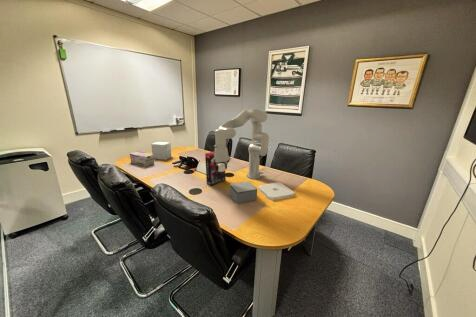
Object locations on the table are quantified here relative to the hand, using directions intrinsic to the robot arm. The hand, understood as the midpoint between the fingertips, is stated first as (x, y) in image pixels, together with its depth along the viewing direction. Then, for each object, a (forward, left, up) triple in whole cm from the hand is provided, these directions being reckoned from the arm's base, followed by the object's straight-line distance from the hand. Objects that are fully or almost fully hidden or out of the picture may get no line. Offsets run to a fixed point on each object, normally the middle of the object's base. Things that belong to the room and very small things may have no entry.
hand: (221, 169), depth 146 cm
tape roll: (0, 0, -1) cm, 1 cm away
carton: (-12, +14, -19) cm, 26 cm away
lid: (-12, +14, -11) cm, 21 cm away
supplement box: (+36, -110, -19) cm, 117 cm away
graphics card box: (-2, -19, -19) cm, 27 cm away
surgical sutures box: (+58, -95, -19) cm, 113 cm away
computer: (-40, +16, -20) cm, 47 cm away
